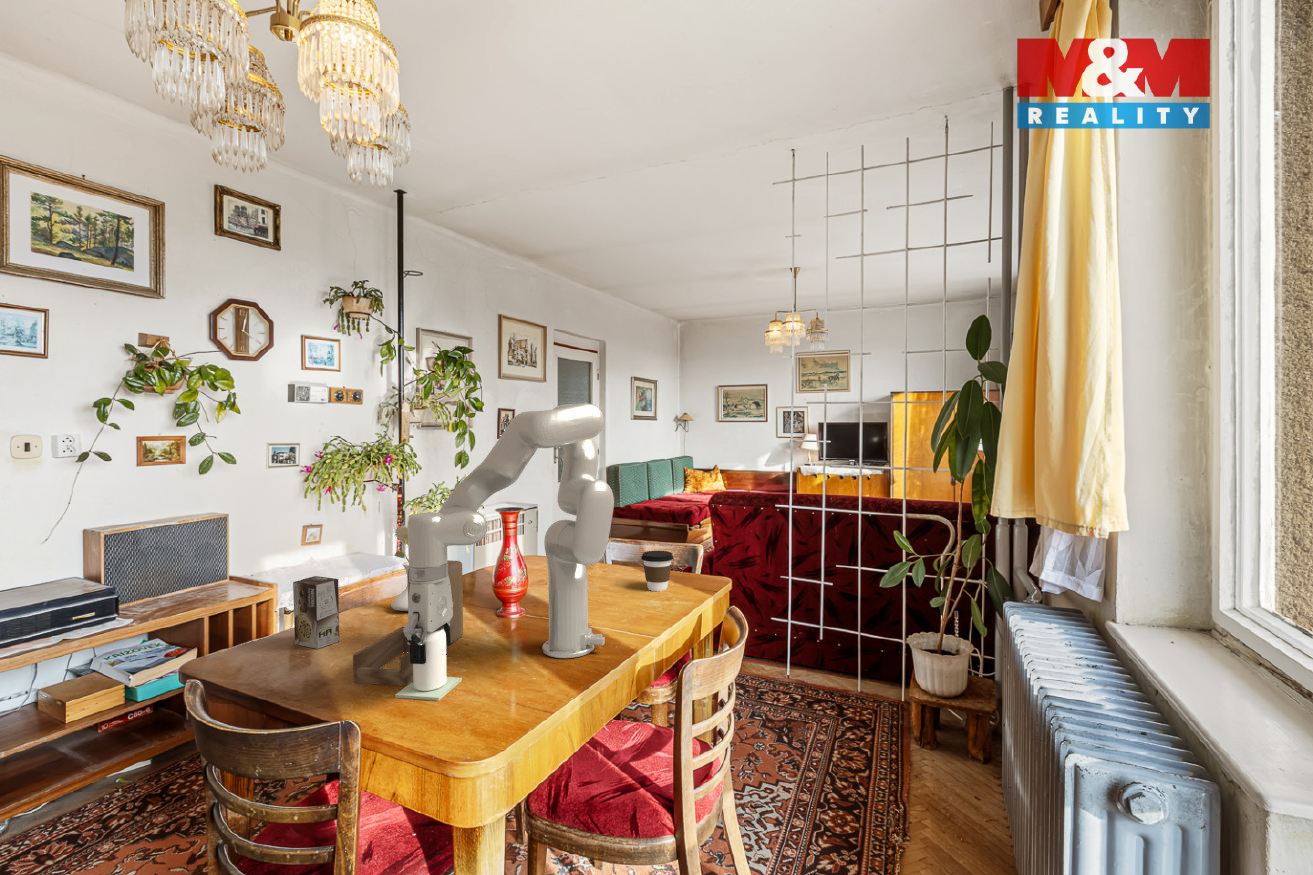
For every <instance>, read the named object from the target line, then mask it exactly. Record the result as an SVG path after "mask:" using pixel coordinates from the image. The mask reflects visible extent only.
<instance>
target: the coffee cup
mask: <svg viewBox="0 0 1313 875" xmlns="http://www.w3.org/2000/svg"><path fill="white" fill-rule="evenodd" d="M640 559H641V560H642V561H643V565H642V566H643V570H644V571H643V572H644V575H645V578H644V579H645V581H646V586H647V589H648V591H650V590H651V591H650V592H655V591H660V592H665V591H666V590H668V585H669V581H670V576H671V568H672V560H674V555H673V552H670V551H669V550H667V551H666V550H647V551H644V552H642V555H641V557H640ZM664 590H665V591H664Z"/></svg>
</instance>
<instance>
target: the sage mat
mask: <svg viewBox="0 0 1313 875" xmlns="http://www.w3.org/2000/svg"><path fill="white" fill-rule="evenodd" d="M462 681H463V677H454V676H447V680H446V683H445V685H444V686H443V687H441V688H439V689H437V690H433V691H428V692H422V691H418V690H416V689H415V688H414V681H413V680H412V681H411V682H409V683H408V684H407V686H406V685H405V686H404V688H402V689H401V690H399V691H397V692H396V694H395V695H394V696H395V699H410V700H420V701H421V700H422V701H423V700H425V701H434V702H436V701H437V702H439V701H440V700H442V699H443V698H444V697H445V696H446V695H447V694H448V693H450V692H451V691H452V690H453V689H454V688H456V687H457V686H458V685H459V684H460V683H461V682H462Z"/></svg>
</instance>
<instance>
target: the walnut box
mask: <svg viewBox="0 0 1313 875" xmlns="http://www.w3.org/2000/svg"><path fill="white" fill-rule="evenodd" d="M404 627H405V626H401V627H400V628H397V629H396V630H394V631H392V632H390V633H389V634H386V635H385V636H383V637H381V638H380V639H378V640H376V641H373V643H371V644H369V645H367V646H365V647H364V648H362V649H360V650H359V651H357V652H355V653H353V654H352V669H353V670H352V672H353V673H352V674H353V676H352V678H353V679H352V682H353V683H358V684H368V685H369V684H372V685H373V684H374V685H382V686H383V685H386V686H398V687H399V686H401V687H406V685H409V684H410V683H411V682H413V664H411V663H410V645H408V641H407V640H406V638H405V637H406V636H405V634H404V632H403V629H404ZM403 652H408V653H403ZM402 653H403V654H402ZM446 654H447V655H448V654H449V646H446ZM399 655H400V657H399ZM396 657H397V658H398V657H399V669H398V668H385V667H384V666H386V665H387V664H389V663H390V662H392V661H393V660H395V659H396ZM388 662H389V663H388ZM385 664H386V665H385ZM382 667H384V668H382Z"/></svg>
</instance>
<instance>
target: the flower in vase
mask: <svg viewBox="0 0 1313 875" xmlns="http://www.w3.org/2000/svg"><path fill="white" fill-rule="evenodd" d="M394 536H395V537H397V540H399V542H400V543H402V544H403V549H402V551H400V550H397V551H396V552H395V553H394V555H393V556H395V557H399V558H400V559H403V558H404V557H405V559H406V561H405V562H403V563H401V565H402V567H403V568H404V570H405V571H406V578H407V579H406V582H407V583H406V587H405V589H404V590H403V591H402V592H401V593H400V594H399V595H397V597H395V598H394V599H393V600H392V601H391V605H390V607H391V608H392V609H393V610H395V611H399V612H408V569H409V557H407V555H406V551H405V548H406V545H407V546H408V526H406V525H400V526H399V527H396V529H395V534H394Z"/></svg>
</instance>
